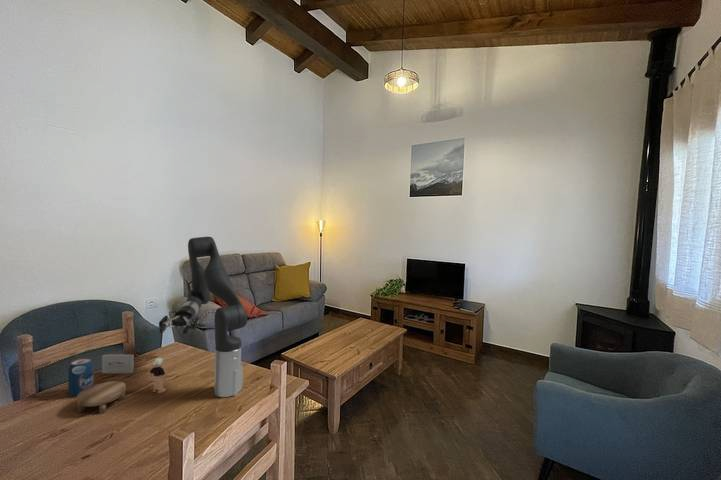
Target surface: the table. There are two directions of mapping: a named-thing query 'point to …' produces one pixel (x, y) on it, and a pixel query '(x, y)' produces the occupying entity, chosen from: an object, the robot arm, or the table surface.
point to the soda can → (80, 376)
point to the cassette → (111, 367)
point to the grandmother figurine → (158, 375)
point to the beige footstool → (101, 395)
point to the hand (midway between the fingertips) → (172, 332)
